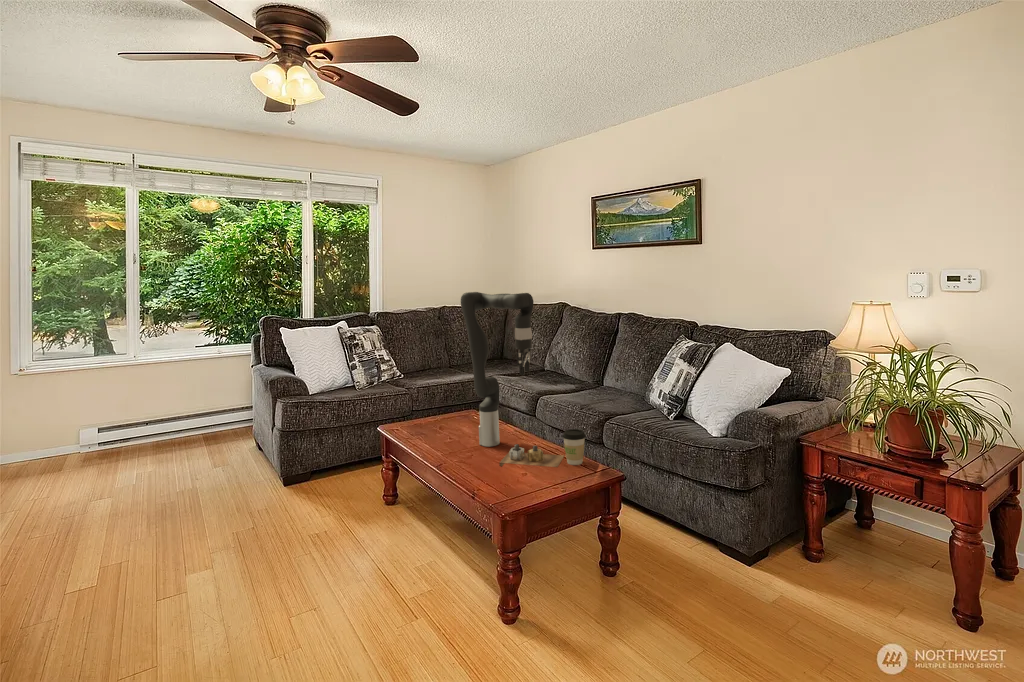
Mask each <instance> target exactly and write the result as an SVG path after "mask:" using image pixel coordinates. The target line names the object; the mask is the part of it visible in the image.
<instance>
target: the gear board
mask: <svg viewBox="0 0 1024 682" xmlns="http://www.w3.org/2000/svg"><path fill="white" fill-rule="evenodd" d="M514 447H515V451H519V447H520V445H519V444H518V443H517V444H514ZM514 447H513V448H514ZM564 457H565V455H561V454H560V455H559V454H548V453H546V454H545V453H544V451H543V449H541V448H538V445H532V448H530V449H529V450H527V452H524V458H523V459H522V460H512V459H510V451H509V452H507V453H506V454H505V456H504V457H503V458H502V459H501V460H500V461H499V466H500V467H503V466H504V465H505V464H511V465H512V464H514V465H526V466H536V467H537V466H539V467H548V468H549V467H550V468H551V467H552V468H558V467H559V466H560V464H561V463H562V461H563V459H564Z"/></svg>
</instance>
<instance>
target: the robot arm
mask: <svg viewBox="0 0 1024 682" xmlns="http://www.w3.org/2000/svg"><path fill="white" fill-rule="evenodd" d="M460 306H461V310H462V315H463V319H464V322H465V327H466V332H467V336H468V337H467V339H468V345H469V350H470V351H469V352H470V357H471V362H472V370H473V386H474V390H475V391H474V392H475V394H476V395H477V397H479V398H480V399H484V400H483V401H482V402H481V403H480V404H479V405H478V409H479V410H478V411H479V425H478V438H479V439H478V441H479V444H478V445H479V446H482V447H488V448H489V447H496V446H498V445H500V441H501V439H500V420H499V419H500V418H499V405H500V383H499V381H498V379H497V378H496V377H495V376H488V377H486V372H485V371H486V368H485V367H486V364H487V360H488V356H489V353H490V345H489V341H488V335H487V334H486V332H485V331H484V329H483V328H482V326H481V325H480V324H479V322H478V318H477V316H476V312H477V311H481V310H484V309H488V308H490V309H491V308H493V309H498V310H520V312H519V313H518V314H516V315H515V317H514V328H515V329H514V340H515V341H514V345H515V346H514V347H515V349H517V350H519V352H517V353H516V366H517V367H518V368H519V369H518V373H519V376H525V375H526V374H525V372H531V371H530V370H531V368H530V367H531V366H530V363H531V361H532V354H531V353H532V351H531V350H532V348H533V337H532V336H533V334H532V332H533V331H532V323H531V317H532V314H533V309H534V297H533V296H532V294H531V293H530V292H524V293H523V292H521V293H496V294H495V293H494V294H490V293H488V294H487V293H483V292H479V291H473V292H472V291H469V292H465V293H462V295H461V296H460Z"/></svg>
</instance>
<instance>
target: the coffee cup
mask: <svg viewBox="0 0 1024 682" xmlns="http://www.w3.org/2000/svg"><path fill="white" fill-rule="evenodd" d="M562 438H563V441H564V444H563V446H564V451H565V459H566V463H567V464H568V465H569V466H578V465H582V464H583V460H584V451H585V438H587V437H586V433H585V431H584V430H582V429H578V428H571V429H566V430H564V432H563V434H562Z"/></svg>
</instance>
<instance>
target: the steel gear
mask: <svg viewBox="0 0 1024 682" xmlns="http://www.w3.org/2000/svg"><path fill="white" fill-rule="evenodd" d="M509 452H510V459H512V460H522V459H523V458H524V453H525V448H524V447H520V446H519V451H515V447H511V448H510V450H509Z"/></svg>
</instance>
